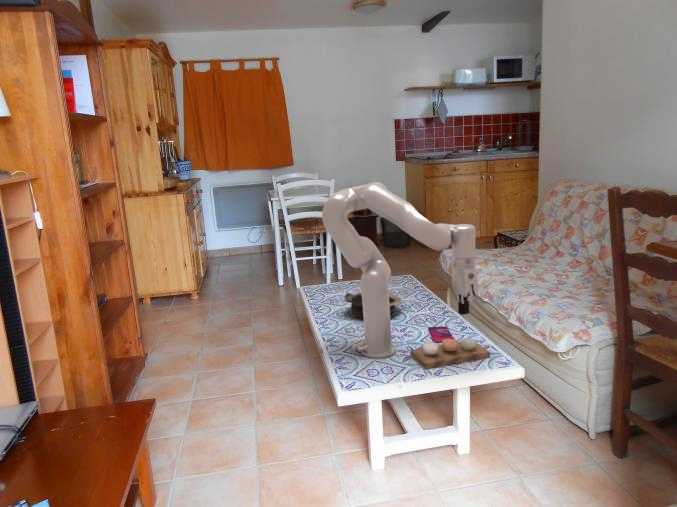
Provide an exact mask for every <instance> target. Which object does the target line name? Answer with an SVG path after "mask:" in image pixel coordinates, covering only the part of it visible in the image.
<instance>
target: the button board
mask: <svg viewBox="0 0 677 507" xmlns="http://www.w3.org/2000/svg"><path fill="white" fill-rule="evenodd" d="M410 357H411V358H412V359H413V360H414V361H415V362H416V363H417V364H418V365H419V366H421V368H423V370H425V371H427V370H431V369H432V370H433V369H437V368H441V367H446V366H447V367H448V366H453V365H457V364H463V363H467V362H469V363H470V362H474V361H479V360H485V359H490V358H491V352H490V350H488V349H487V348H485V347H484V346H482V345H480V344H479V343H478V342H476V341H475V349H474V350H463V349H461V342H460V341H457V349H456V350H454V351H446V350H443V349H442V344H440V345H439V344H438V353H437V354H432V355H430V354H425V353H424V352H423V347H422V348H418V349H417V348H416V349H411V350H410Z"/></svg>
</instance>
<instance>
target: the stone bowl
mask: <svg viewBox="0 0 677 507" xmlns="http://www.w3.org/2000/svg"><path fill="white" fill-rule="evenodd" d="M402 301H403V300H402V299H401V298H400V297H399V296H396V295H394V294H389V303H390V314H392V312H393V311H394V309H395V305H397V304H400V303H401V302H402ZM343 302H346V303H347V302H348V303H351V306H350V309H351V313H352V315H353V316H354V317H355V318H359V319H360V318H363V319H364V317H363V303H362V294H361V292H358V293H351V292H350V293H349V292H348V293H346V294H345V296H344V300H343Z"/></svg>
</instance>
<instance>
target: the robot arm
mask: <svg viewBox="0 0 677 507" xmlns="http://www.w3.org/2000/svg"><path fill="white" fill-rule="evenodd" d="M364 209H368V210H370V211H372V212H374V213H376V214H378V215H379V216H381V217H382V218H384V219H386V220H387V221H389V222H390V223H392V224H394V225H395V226H397V227H398V228H399V229H401V230H402V231H404V232H405V233H406V234H407V235H409V237H412V238H413V239H414V240H416V241H418V242H419V243H421V244H423V245H425V246H426V247H428V248H430V249H432V250H435V251H437V252H438V251H439V252H440V251H445V250H447V249H448V248H449V247H450V245H451V266H452V269H451V289H452V291H453V293H455V295H456V298H457V303H458V306H457V308H458V314H459V315H461V316H462V315H468V314H470V302H473V301H474V296H475V297H476V296H478V294H479V286H478V285H479V284H478V282H479V281H478V272H477V268H476V227H475V226H474V225H472V224H471V223H470V224H469V223H468V224H467V223H462V224H461V223H460V224H451V223H450V224H449V223H442V222H441V223H436V224H435V223H433V222H432V221H430V220H428V218H426V217H424V216H423V214H420V213H419V211H418V210H417V209H416V208H415V206H414V205H412V204H411V203H410V202H408V201H407V200H405V199H403V198H401V197H400V196H397V195H396V194H395V193H393V192H391V191H389V190H388V188H387V187H386V185H385V184H383V183H381V182H378V181H377V182H376V181H374V182H371V183H366V184H362V185H358V186H354V187H347V188H344V189H341V190H339V191H336V192H334V193H333V194H331V195H330V196H329V197H328V198H327V200H326V201H325V204H324V205H323V208H322V211H321V220H322V224H323V227H324V228H325V230H326V231H327V233H328V235H329V236H330V238H331V239H332V241H333V242H334V244H335V245H336V247H337V249H338V250H339V252H340V253H341V254H342V255H343V257H344V259H345V261H346V262H347V263H348V265H350V266H351V267H352V268H355V269H359V268H360V270H361V271H362V274H361V277H360V282H359V285H360V293H361V294H362V303H363V331H364V338H363V339H361V340H362V341H361V342H359V343H353V344H351V348H352V350H357V351H358V352H360V351H361V354H362V355H363V356H364V357H365V358H371V359H385V358H389V357H391V356H393V355H395V354H396V352H397V347H396V345H394V344H393V343H392V328H391V327H392V326H391V313H390V303H389V295H390V292H389V284H390V280H391V277H392V270H391V267H390V265H389V264H388V262H387V260H386V259H385V257H384V256H383V254H382V253H381V252H380V250H379V248H378V247H377V246H376V244H375V243H374V242H373V241H372V240H371V239H370V238H369V237H367V236H362V235H360V234H359V233H358V232H357V230H356V229H355V226H354V225H353V224H352V223H351V222H350V221H349V218H348V215H349V214H350V213H352V212H356V211H362V210H364Z"/></svg>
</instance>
